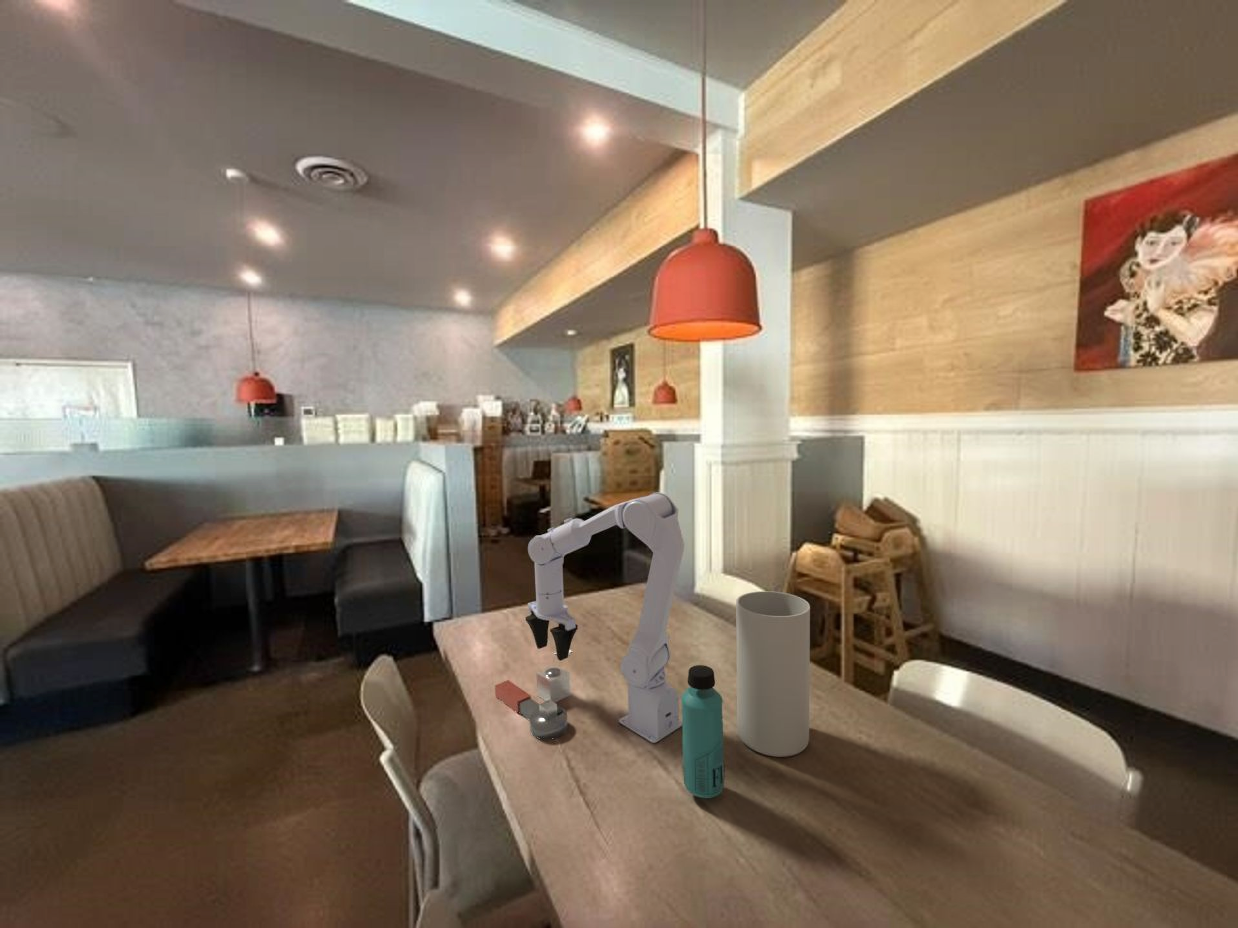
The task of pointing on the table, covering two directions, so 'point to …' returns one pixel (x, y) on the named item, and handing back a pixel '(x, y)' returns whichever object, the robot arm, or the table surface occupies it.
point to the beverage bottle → (702, 734)
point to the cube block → (553, 684)
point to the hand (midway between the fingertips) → (552, 652)
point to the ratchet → (534, 711)
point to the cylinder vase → (773, 672)
